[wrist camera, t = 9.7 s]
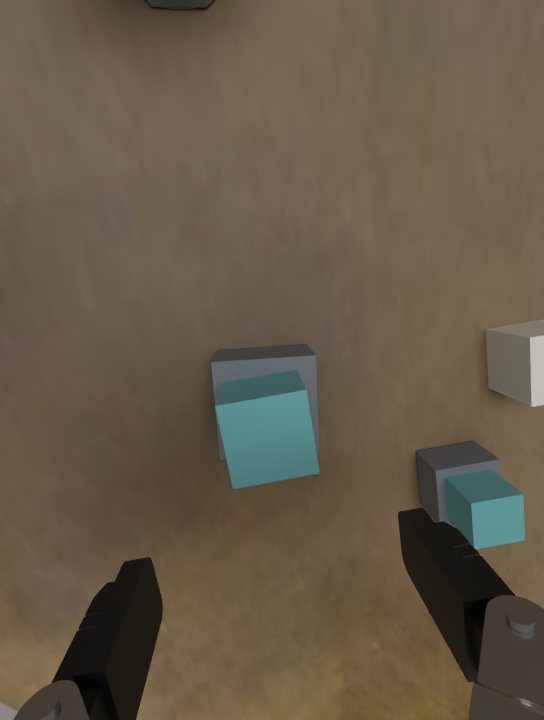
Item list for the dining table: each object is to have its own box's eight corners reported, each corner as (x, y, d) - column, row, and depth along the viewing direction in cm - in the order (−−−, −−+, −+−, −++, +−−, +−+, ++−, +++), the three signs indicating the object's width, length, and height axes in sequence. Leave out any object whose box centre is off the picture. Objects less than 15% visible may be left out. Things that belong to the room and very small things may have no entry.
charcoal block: (225, 432, 31) (219, 460, 26) (218, 349, 30) (210, 362, 25) (309, 426, 31) (319, 452, 26) (305, 343, 30) (316, 355, 25)
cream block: (488, 388, 31) (531, 406, 26) (485, 329, 30) (529, 337, 25) (546, 377, 31) (600, 394, 26) (545, 318, 30) (601, 325, 25)
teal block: (236, 451, 26) (233, 489, 21) (222, 382, 25) (215, 406, 20) (307, 438, 26) (319, 473, 21) (296, 369, 25) (306, 389, 20)
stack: (420, 502, 33) (464, 560, 26) (415, 450, 32) (460, 496, 25) (476, 493, 33) (534, 547, 26) (473, 440, 32) (533, 483, 25)
